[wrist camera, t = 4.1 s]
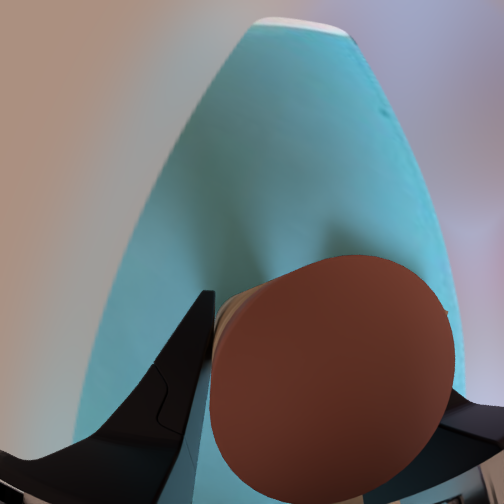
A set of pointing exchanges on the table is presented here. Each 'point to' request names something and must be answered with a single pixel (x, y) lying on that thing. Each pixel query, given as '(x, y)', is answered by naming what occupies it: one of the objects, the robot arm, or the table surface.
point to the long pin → (329, 378)
